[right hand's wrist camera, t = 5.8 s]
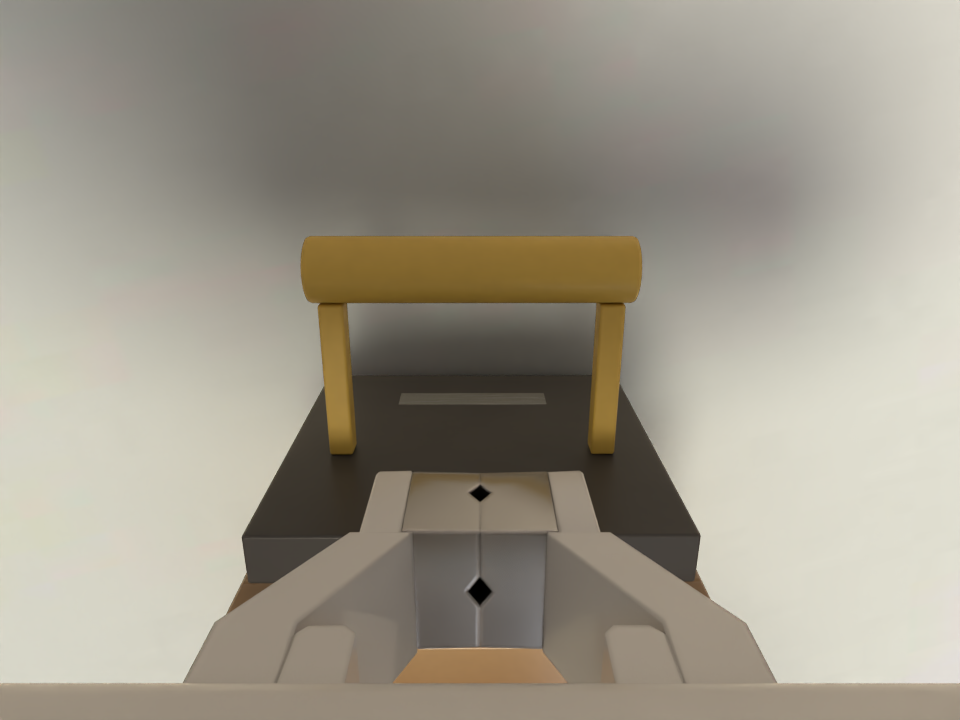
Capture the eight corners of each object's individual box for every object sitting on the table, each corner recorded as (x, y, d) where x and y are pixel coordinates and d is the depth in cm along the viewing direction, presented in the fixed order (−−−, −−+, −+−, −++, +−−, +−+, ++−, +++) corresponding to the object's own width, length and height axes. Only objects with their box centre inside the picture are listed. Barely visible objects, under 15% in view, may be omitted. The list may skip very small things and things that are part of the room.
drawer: (315, 206, 20) (202, 273, 12) (628, 206, 20) (737, 273, 12) (365, 811, 29) (320, 1094, 21) (582, 809, 29) (625, 1091, 21)
